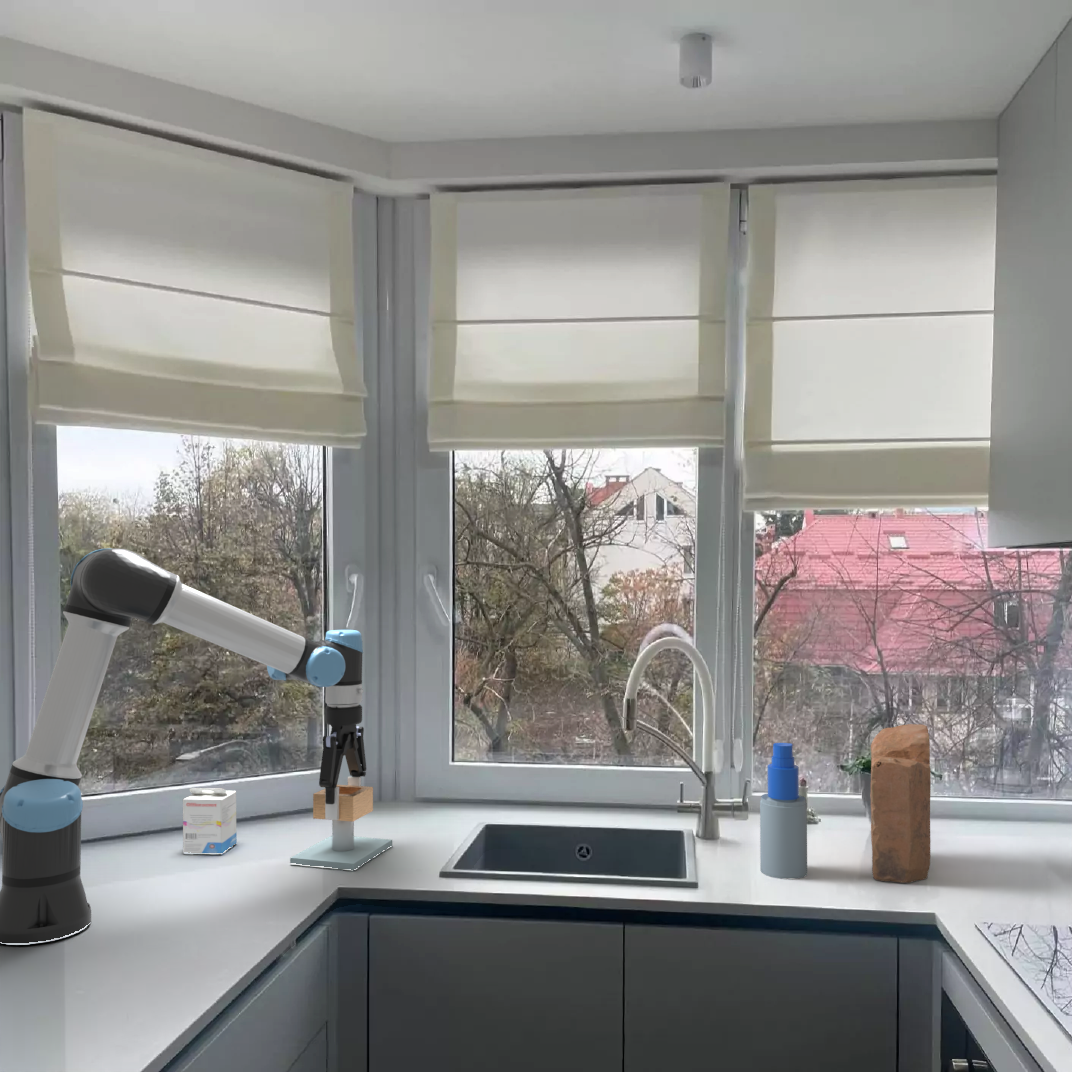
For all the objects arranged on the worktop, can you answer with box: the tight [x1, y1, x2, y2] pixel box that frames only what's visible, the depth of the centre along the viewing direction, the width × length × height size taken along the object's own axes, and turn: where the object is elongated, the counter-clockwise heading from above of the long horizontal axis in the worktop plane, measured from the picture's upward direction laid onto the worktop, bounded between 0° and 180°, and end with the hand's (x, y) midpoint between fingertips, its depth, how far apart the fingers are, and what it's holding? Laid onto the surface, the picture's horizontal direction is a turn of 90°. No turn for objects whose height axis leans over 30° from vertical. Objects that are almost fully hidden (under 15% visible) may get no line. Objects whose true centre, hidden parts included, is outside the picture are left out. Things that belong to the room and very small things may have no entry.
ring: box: [312, 784, 374, 822], centre depth 206 cm, size 9×9×5 cm
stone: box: [869, 723, 932, 884], centre depth 197 cm, size 22×11×28 cm, turn 162°
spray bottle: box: [759, 742, 808, 879], centre depth 195 cm, size 9×9×25 cm
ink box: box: [182, 787, 238, 853], centre depth 210 cm, size 9×8×13 cm
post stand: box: [289, 820, 393, 870], centre depth 206 cm, size 18×14×10 cm
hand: (343, 813), depth 206 cm, fingers closed on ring, 9 cm apart
